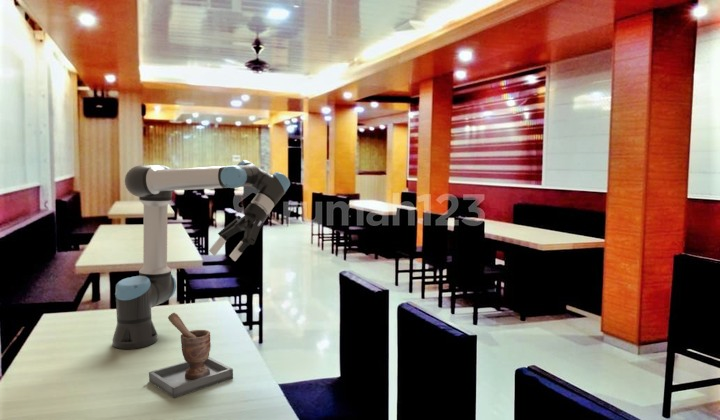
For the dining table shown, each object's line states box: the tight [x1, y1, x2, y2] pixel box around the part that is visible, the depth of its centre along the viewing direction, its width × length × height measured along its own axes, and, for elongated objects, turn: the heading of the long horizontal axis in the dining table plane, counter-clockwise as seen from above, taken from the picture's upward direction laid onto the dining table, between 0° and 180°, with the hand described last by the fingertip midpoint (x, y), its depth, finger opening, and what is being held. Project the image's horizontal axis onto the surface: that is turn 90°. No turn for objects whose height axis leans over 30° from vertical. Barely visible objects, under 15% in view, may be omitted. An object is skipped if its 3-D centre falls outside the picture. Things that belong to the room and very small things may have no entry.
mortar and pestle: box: [167, 312, 212, 380], centre depth 160 cm, size 12×9×20 cm
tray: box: [148, 356, 234, 399], centre depth 161 cm, size 16×19×3 cm
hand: (221, 256), depth 180 cm, fingers open, 13 cm apart
